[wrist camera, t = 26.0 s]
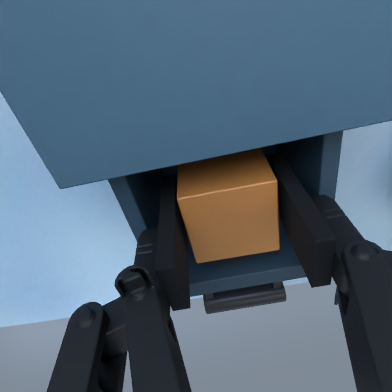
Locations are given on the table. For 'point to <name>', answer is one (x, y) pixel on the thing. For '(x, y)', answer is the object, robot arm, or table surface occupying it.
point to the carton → (229, 205)
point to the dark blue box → (188, 77)
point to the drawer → (249, 264)
